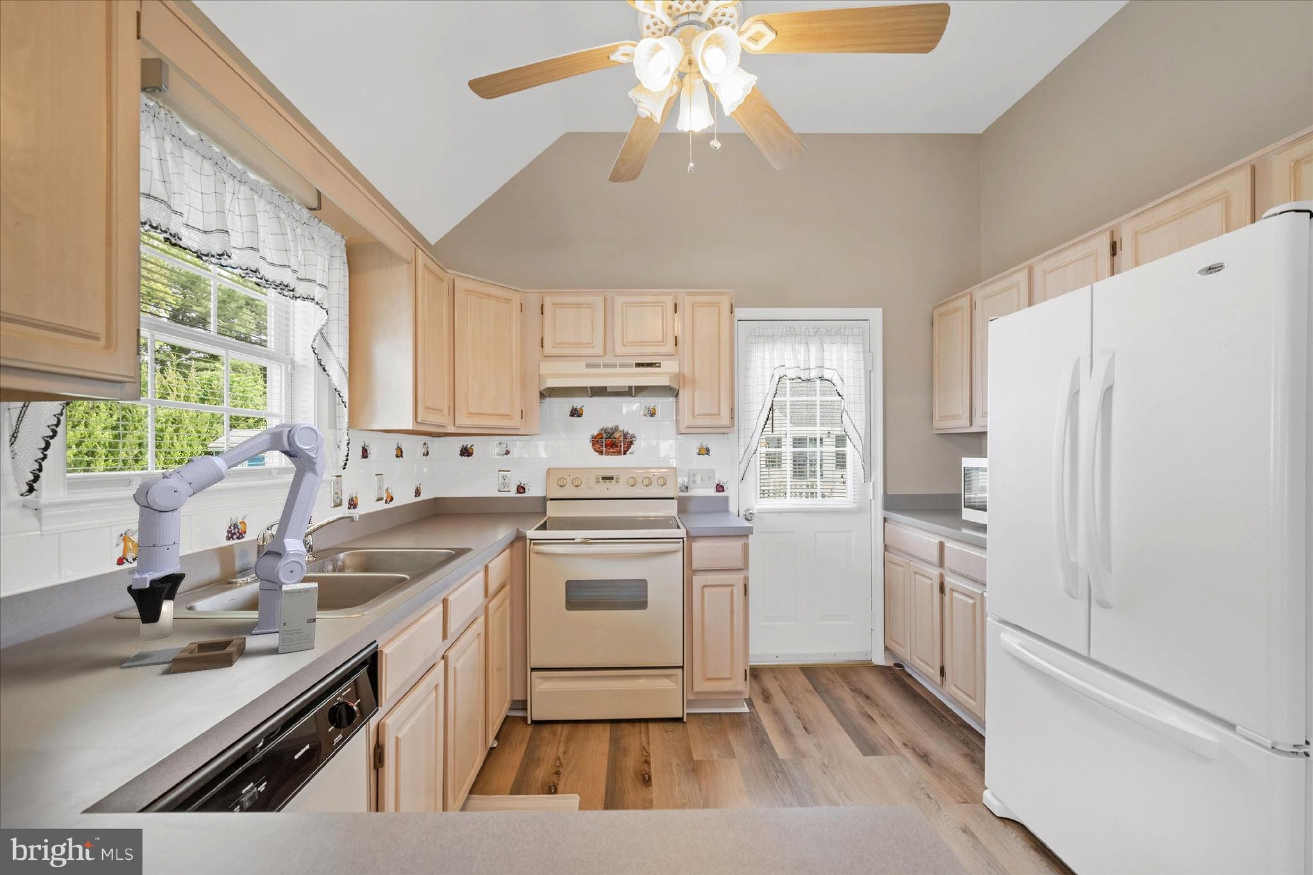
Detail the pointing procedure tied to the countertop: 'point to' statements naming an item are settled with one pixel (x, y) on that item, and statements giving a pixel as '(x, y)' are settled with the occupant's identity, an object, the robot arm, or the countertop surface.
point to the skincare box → (298, 617)
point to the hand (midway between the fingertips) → (156, 618)
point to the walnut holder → (209, 654)
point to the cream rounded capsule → (159, 624)
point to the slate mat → (152, 657)
